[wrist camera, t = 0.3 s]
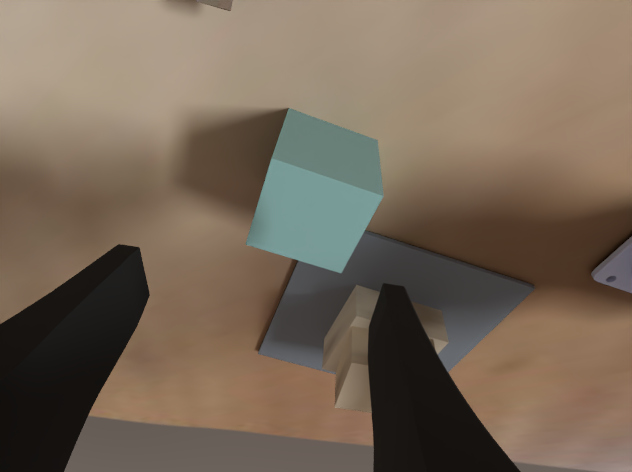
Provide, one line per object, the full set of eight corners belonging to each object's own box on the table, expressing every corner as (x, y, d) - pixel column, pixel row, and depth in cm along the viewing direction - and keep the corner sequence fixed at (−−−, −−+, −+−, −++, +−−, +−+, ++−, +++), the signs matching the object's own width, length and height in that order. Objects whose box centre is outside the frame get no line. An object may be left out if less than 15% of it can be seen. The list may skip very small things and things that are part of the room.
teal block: (377, 139, 19) (383, 196, 15) (343, 210, 22) (341, 273, 18) (289, 107, 18) (271, 158, 15) (265, 184, 21) (245, 244, 17)
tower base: (441, 310, 26) (448, 342, 24) (399, 359, 29) (403, 390, 27) (356, 284, 25) (356, 315, 23) (324, 338, 29) (322, 369, 27)
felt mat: (533, 284, 24) (535, 288, 24) (421, 393, 33) (422, 397, 32) (317, 214, 22) (317, 217, 22) (258, 350, 31) (258, 353, 30)
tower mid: (433, 339, 24) (440, 377, 22) (408, 383, 27) (412, 419, 25) (351, 326, 24) (351, 362, 22) (336, 371, 27) (334, 407, 25)
